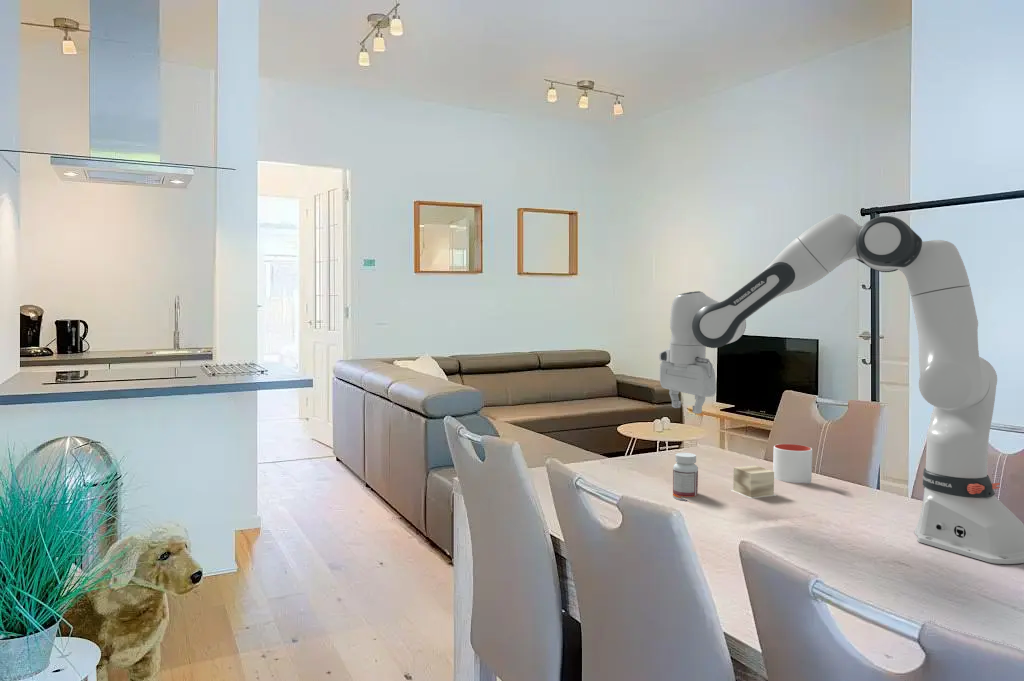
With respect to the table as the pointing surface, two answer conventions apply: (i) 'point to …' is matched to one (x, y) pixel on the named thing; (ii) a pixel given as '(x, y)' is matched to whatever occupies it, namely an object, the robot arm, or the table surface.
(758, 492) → the maple block
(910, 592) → the table surface
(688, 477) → the pill bottle
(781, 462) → the cup
